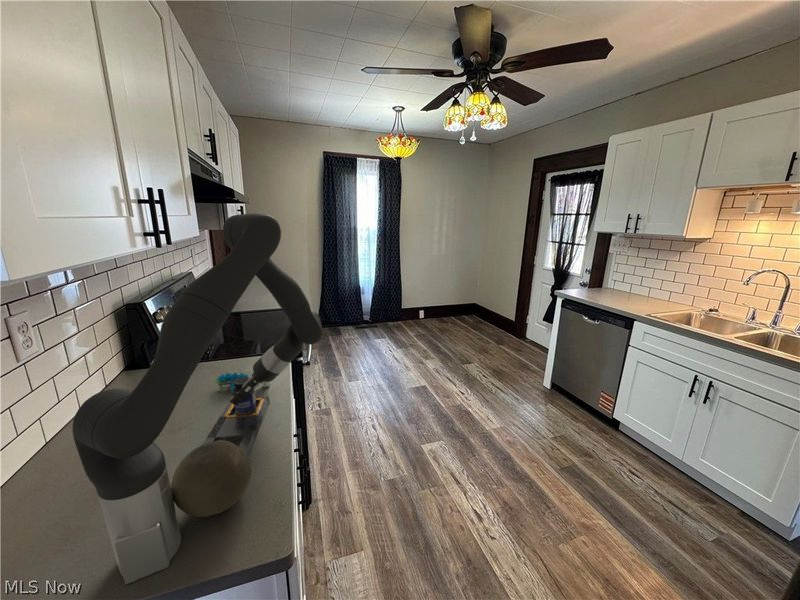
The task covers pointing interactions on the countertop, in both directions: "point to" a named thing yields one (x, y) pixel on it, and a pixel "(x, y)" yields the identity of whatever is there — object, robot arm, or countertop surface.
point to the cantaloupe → (211, 478)
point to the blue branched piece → (228, 379)
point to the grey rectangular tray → (239, 425)
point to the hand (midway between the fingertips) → (238, 396)
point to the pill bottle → (249, 401)
